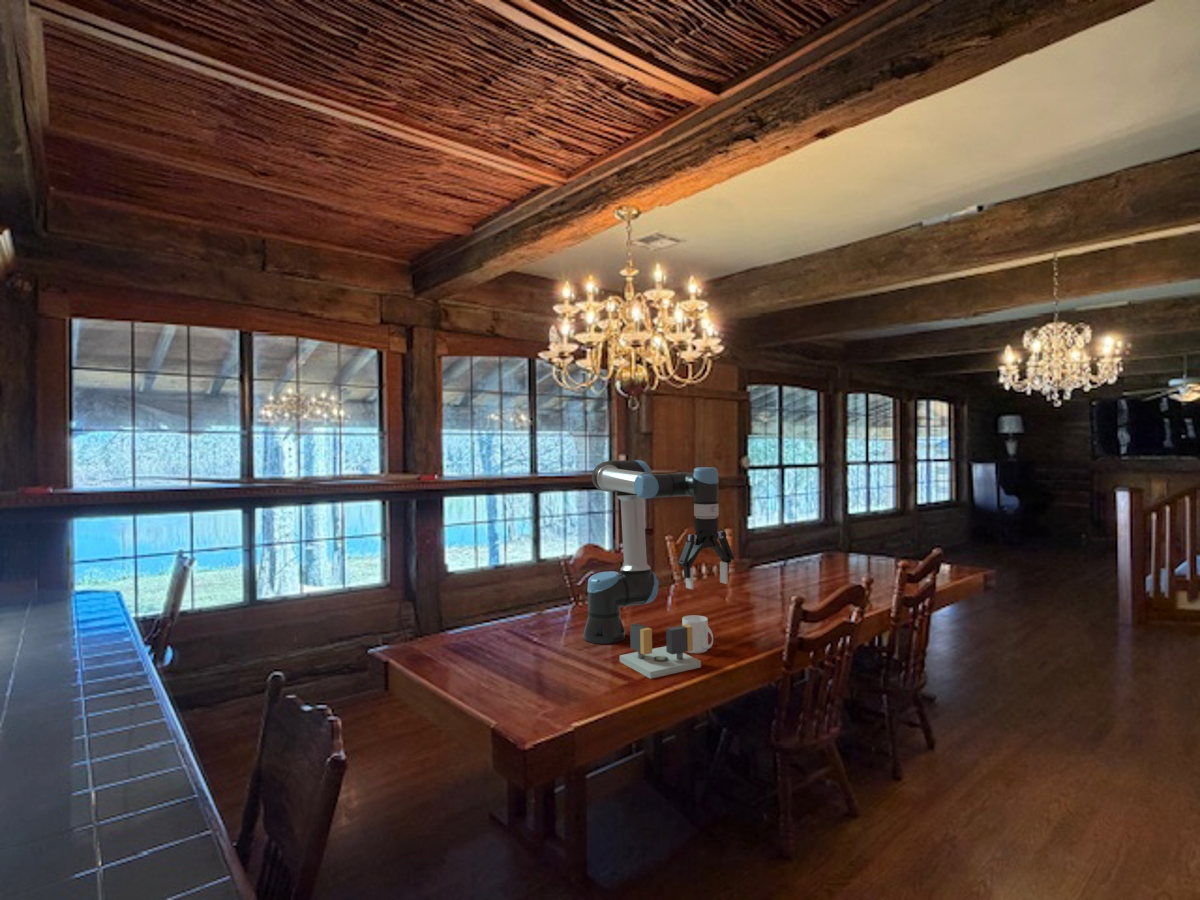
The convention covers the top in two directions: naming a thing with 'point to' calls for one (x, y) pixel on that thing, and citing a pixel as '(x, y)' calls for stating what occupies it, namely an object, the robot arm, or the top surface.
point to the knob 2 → (679, 640)
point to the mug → (699, 632)
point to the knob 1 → (641, 639)
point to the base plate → (659, 663)
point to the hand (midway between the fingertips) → (707, 585)
